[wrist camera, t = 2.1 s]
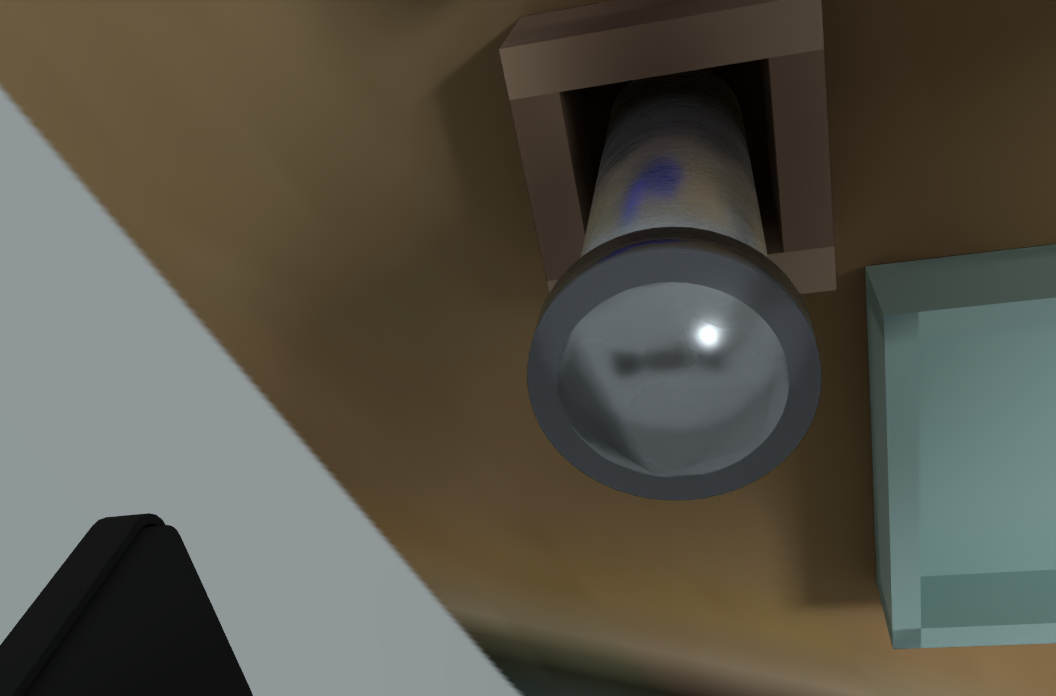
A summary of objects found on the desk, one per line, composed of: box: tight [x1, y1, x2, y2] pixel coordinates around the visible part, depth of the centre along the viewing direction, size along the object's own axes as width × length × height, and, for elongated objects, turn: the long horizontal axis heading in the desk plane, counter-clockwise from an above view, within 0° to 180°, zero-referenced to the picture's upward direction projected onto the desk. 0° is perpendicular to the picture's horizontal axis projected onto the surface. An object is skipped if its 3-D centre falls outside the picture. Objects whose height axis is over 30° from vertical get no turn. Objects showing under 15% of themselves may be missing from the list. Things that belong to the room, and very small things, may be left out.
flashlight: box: [527, 68, 821, 500], centre depth 18 cm, size 4×4×11 cm
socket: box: [499, 0, 837, 294], centre depth 21 cm, size 6×6×3 cm
